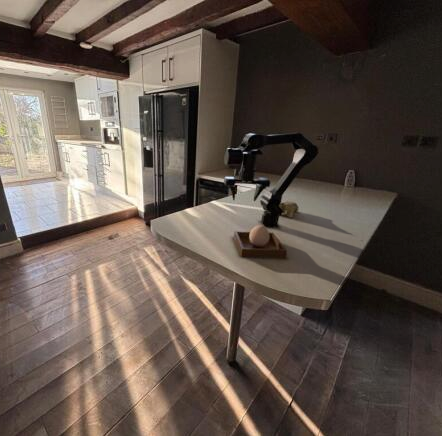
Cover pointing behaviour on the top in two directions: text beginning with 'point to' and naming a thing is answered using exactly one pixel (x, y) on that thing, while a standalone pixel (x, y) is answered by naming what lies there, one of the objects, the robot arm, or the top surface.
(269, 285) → the top surface
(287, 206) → the fossil
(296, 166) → the robot arm
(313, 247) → the top surface
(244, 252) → the tray
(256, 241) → the egg
